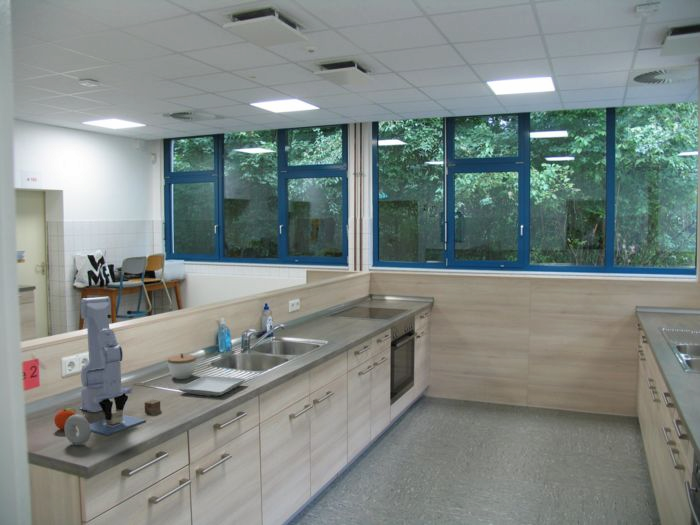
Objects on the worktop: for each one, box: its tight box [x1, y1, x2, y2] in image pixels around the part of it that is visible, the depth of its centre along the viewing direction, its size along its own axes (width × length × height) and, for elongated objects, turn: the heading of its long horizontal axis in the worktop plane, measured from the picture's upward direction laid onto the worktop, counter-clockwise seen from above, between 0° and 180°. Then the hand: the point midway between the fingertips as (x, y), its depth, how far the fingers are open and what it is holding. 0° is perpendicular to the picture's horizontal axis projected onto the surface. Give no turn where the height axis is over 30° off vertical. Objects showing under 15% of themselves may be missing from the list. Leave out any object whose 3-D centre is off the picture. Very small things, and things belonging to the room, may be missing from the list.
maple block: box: [106, 408, 124, 424], centre depth 205 cm, size 4×4×4 cm
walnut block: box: [144, 399, 161, 415], centre depth 219 cm, size 4×4×4 cm
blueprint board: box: [89, 414, 147, 437], centre depth 205 cm, size 14×16×1 cm
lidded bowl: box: [167, 353, 197, 380], centre depth 270 cm, size 13×13×11 cm
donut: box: [64, 414, 92, 446], centre depth 186 cm, size 10×4×10 cm, turn 67°
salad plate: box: [177, 375, 246, 397], centre depth 248 cm, size 21×21×3 cm
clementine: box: [54, 407, 77, 430], centre depth 202 cm, size 8×7×7 cm
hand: (113, 417), depth 205 cm, fingers closed on maple block, 4 cm apart
